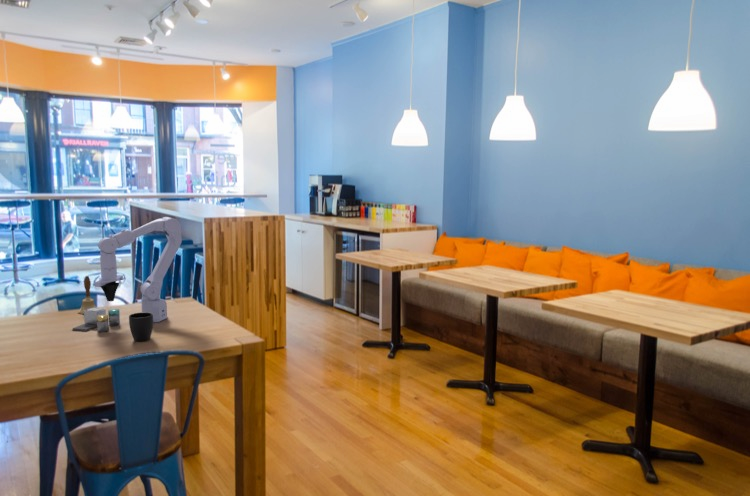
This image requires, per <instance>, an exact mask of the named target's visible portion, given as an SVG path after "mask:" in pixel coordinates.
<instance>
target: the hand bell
mask: <svg viewBox="0 0 750 496" xmlns="http://www.w3.org/2000/svg"><path fill="white" fill-rule="evenodd" d="M91 282H92V281H91V279H90V276H88V275H87V276H86V275H85V277H84V281H83V286H84V291H85V298H84V299H82V301H81V307H80V309H79V310H78V311H77V313H78V314H81V315H84V311H85V310H88V309H91V308H97V306H96V305H95V299H94V298H91V292H90V291H91V284H92V283H91Z"/></svg>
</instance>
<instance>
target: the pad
mask: <svg viewBox="0 0 750 496" xmlns="http://www.w3.org/2000/svg"><path fill="white" fill-rule="evenodd" d="M93 329H97V325H88V324H85V323H84V324H83V323H82V324H80V325H78V326H75V327H72V331H76V332H77V331H79V332H80V331H81V332H89V331H91V330H93Z"/></svg>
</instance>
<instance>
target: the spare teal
mask: <svg viewBox="0 0 750 496" xmlns="http://www.w3.org/2000/svg"><path fill="white" fill-rule="evenodd" d="M107 312H108V313H107V314H108V324H109V327H118V326H120V325H121V321H120V320H121V318H120V317H121V316H120V314H121V313H120V309H119V308H112V309H108V310H107Z"/></svg>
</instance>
